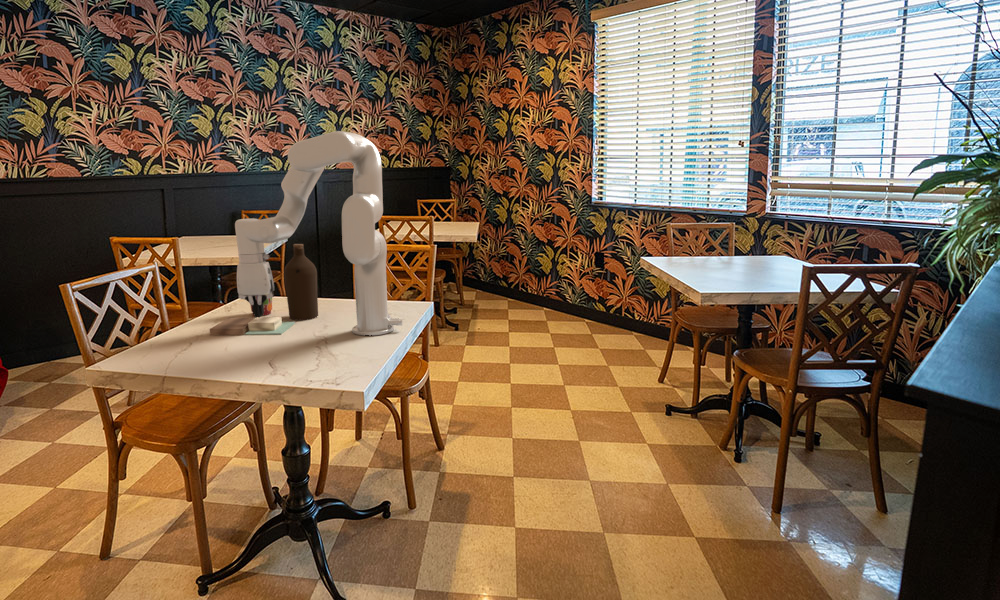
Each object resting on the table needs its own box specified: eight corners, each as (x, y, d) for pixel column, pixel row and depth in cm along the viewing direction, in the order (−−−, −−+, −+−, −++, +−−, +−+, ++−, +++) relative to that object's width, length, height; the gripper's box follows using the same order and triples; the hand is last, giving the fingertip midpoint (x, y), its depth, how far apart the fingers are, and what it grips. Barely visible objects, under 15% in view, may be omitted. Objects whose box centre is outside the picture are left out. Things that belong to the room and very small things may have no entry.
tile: (282, 324, 192) (281, 317, 192) (274, 330, 186) (274, 322, 185) (257, 324, 192) (256, 317, 192) (248, 330, 185) (248, 322, 185)
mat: (295, 322, 196) (295, 321, 196) (281, 334, 182) (281, 333, 182) (261, 323, 196) (261, 322, 196) (245, 334, 182) (244, 333, 182)
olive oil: (325, 317, 203) (320, 244, 198) (294, 322, 196) (288, 247, 191) (312, 311, 211) (307, 241, 206) (282, 316, 205) (276, 244, 199)
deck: (260, 323, 196) (259, 317, 195) (243, 334, 182) (242, 328, 182) (229, 323, 196) (228, 317, 195) (210, 335, 182) (209, 328, 181)
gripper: (280, 256, 188) (286, 313, 192) (232, 257, 188) (239, 314, 192) (272, 260, 181) (278, 318, 185) (222, 261, 180) (230, 320, 184)
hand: (258, 316), depth 188 cm, fingers closed
